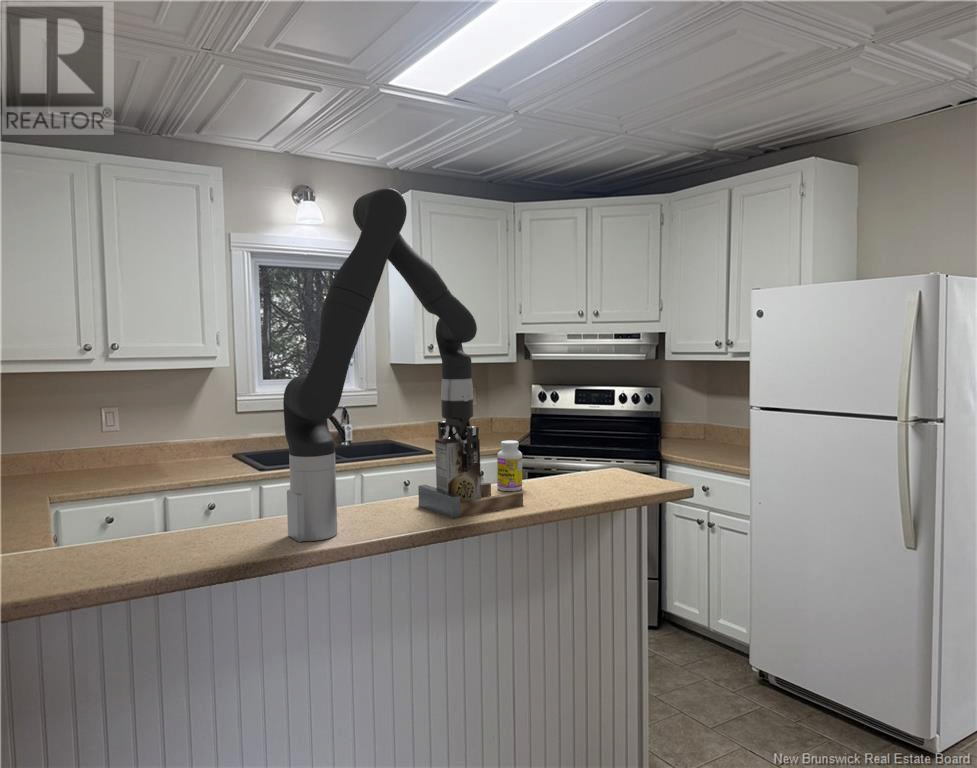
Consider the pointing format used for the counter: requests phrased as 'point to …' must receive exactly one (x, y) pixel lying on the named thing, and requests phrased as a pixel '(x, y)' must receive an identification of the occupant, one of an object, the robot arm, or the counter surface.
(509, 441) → the supplement bottle
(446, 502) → the bar
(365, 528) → the counter surface
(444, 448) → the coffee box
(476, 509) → the guide rails
